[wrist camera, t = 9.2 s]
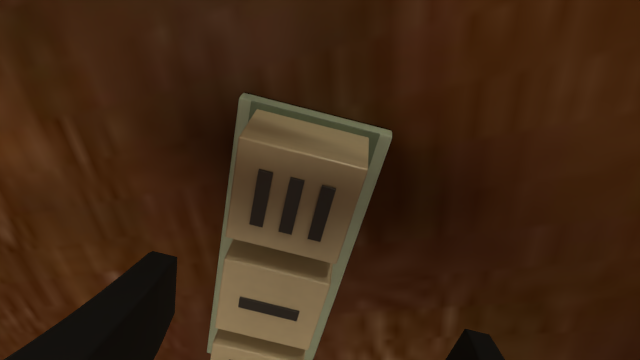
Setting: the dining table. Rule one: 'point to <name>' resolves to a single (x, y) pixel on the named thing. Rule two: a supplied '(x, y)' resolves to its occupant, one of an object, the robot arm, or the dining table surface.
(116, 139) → the dining table surface
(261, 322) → the word board
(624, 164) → the dining table surface
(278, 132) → the beige block
